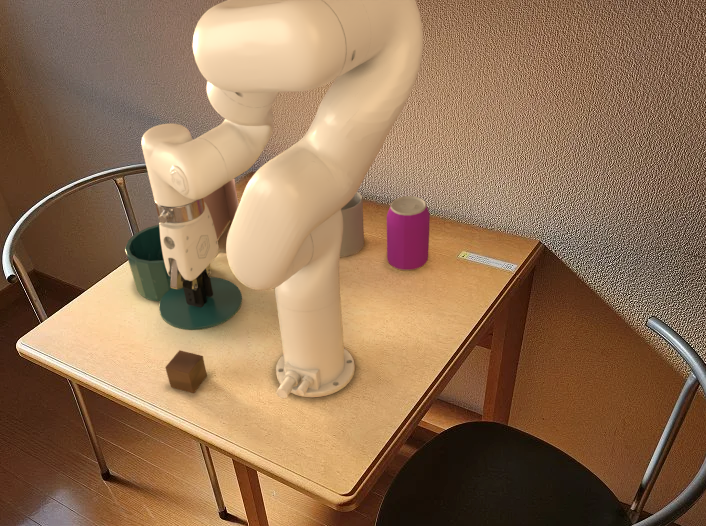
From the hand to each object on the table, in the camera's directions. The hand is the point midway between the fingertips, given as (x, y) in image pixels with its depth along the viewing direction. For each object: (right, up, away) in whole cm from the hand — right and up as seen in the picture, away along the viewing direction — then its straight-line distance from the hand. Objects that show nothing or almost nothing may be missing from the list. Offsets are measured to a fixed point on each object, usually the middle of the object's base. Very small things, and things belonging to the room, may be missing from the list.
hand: (200, 299), depth 128 cm
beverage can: (+38, +8, +10) cm, 40 cm away
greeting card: (+4, +16, +24) cm, 29 cm away
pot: (-7, +5, +14) cm, 16 cm away
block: (-1, -14, -9) cm, 17 cm away
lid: (0, -1, +1) cm, 1 cm away
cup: (+26, +12, +17) cm, 34 cm away
